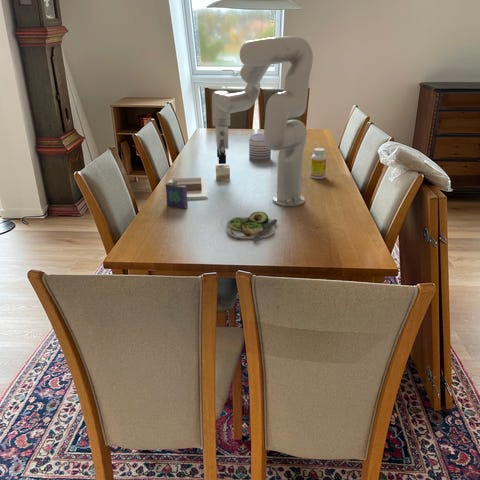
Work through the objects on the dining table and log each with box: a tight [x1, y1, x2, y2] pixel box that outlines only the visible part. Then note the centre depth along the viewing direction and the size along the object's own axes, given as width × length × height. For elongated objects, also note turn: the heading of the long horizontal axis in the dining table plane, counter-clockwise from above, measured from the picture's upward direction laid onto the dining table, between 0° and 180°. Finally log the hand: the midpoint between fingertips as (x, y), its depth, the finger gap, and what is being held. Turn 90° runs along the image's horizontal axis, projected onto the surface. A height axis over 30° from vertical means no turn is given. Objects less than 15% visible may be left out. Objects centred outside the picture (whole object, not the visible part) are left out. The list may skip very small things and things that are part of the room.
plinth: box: [171, 176, 202, 191], centre depth 195 cm, size 8×12×3 cm, turn 96°
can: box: [248, 133, 272, 164], centre depth 234 cm, size 11×11×12 cm
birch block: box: [215, 164, 231, 182], centre depth 208 cm, size 4×6×6 cm
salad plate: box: [226, 211, 278, 242], centre depth 158 cm, size 19×18×5 cm
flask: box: [165, 180, 189, 210], centre depth 177 cm, size 9×3×11 cm, turn 63°
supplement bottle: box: [309, 147, 327, 180], centre depth 209 cm, size 7×7×13 cm
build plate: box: [168, 178, 208, 201], centre depth 196 cm, size 22×16×1 cm
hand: (221, 160), depth 206 cm, fingers open, 9 cm apart
